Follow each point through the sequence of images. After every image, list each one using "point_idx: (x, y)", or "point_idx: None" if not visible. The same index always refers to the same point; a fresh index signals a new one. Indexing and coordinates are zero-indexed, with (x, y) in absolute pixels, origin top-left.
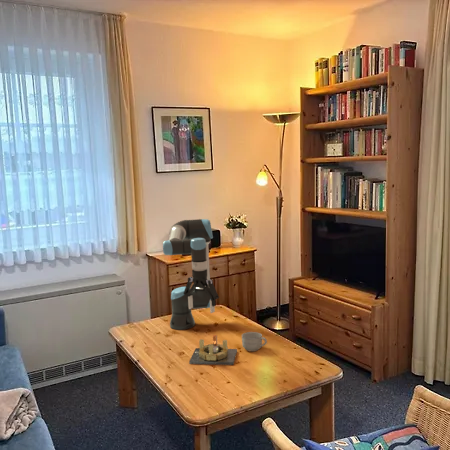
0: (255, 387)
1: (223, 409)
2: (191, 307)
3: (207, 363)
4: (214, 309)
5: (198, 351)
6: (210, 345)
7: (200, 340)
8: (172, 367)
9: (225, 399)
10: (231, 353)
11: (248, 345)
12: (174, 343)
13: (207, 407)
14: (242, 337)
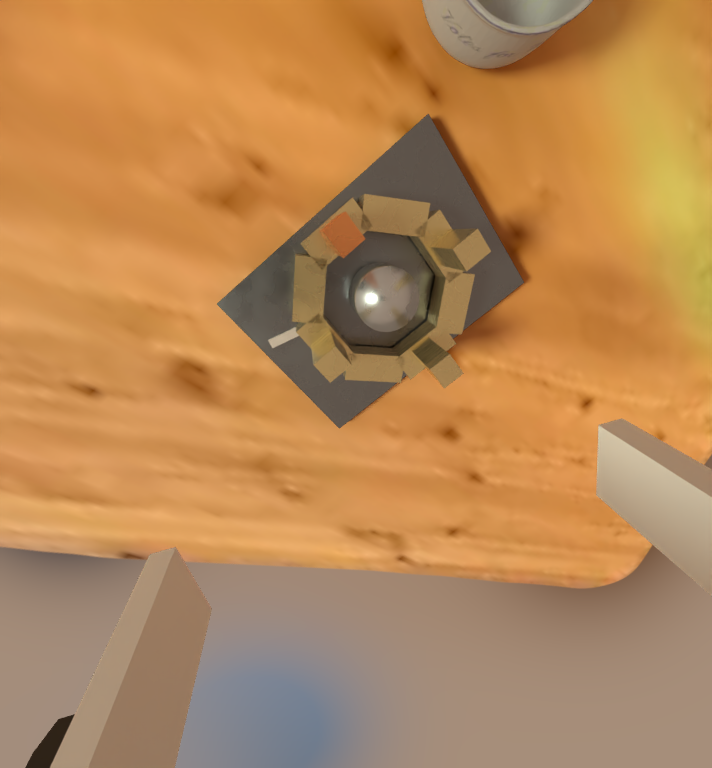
0: (697, 359)
1: None
2: (190, 592)
3: None
4: (653, 440)
5: (272, 324)
6: (448, 377)
7: (332, 373)
8: (309, 488)
9: None
10: (446, 201)
11: (524, 54)
12: (11, 324)
13: (614, 538)
14: (485, 23)
